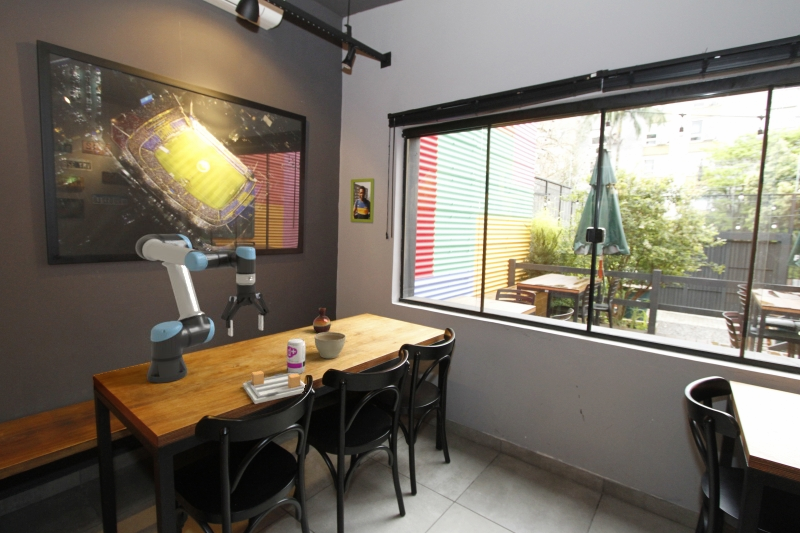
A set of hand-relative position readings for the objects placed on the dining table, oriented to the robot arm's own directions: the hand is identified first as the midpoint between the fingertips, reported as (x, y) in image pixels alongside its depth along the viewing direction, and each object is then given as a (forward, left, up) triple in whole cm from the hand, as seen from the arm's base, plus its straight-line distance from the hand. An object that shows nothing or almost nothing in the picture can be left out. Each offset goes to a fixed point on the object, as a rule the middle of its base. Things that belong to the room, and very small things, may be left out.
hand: (246, 332), depth 165 cm
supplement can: (+23, +1, -22) cm, 32 cm away
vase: (+61, +56, -22) cm, 85 cm away
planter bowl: (+46, +13, -22) cm, 52 cm away
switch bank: (+9, -13, -22) cm, 27 cm away
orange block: (+3, -8, -20) cm, 22 cm away
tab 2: (+15, -18, -20) cm, 31 cm away
